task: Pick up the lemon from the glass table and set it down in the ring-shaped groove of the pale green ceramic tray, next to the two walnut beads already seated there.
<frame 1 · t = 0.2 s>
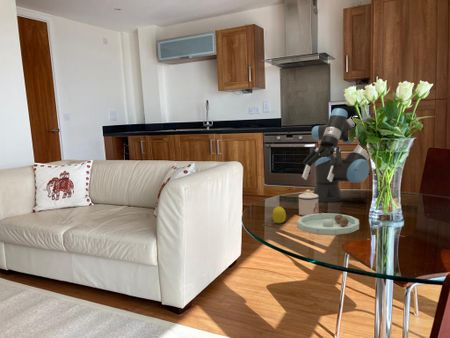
hand: (316, 179, 163), 16 cm above the table, tool tilted 35°, fingers open, 13 cm apart
tray: (327, 228, 143), on the table
teacup with lid: (309, 215, 165), on the table
lemon: (279, 225, 151), on the table
walnut bead A: (343, 226, 141), point 1 cm above the table, touching tray
walnut bead B: (339, 223, 146), point 1 cm above the table, touching tray
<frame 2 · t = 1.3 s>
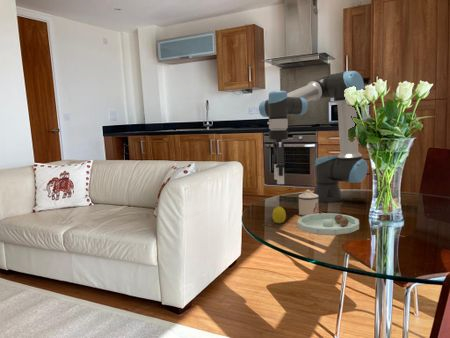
hand: (279, 181, 149), 18 cm above the table, tool pointing down, fingers open, 13 cm apart
nothing on the table moved.
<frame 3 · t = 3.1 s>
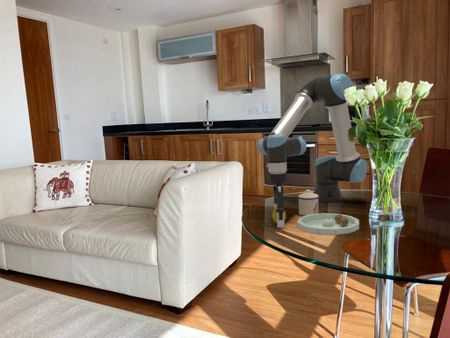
hand: (279, 223, 151), 1 cm above the table, tool pointing down, fingers open, 13 cm apart
nothing on the table moved.
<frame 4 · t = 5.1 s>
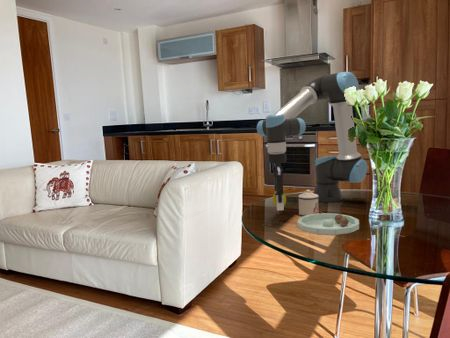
hand: (279, 208, 151), 7 cm above the table, tool pointing down, fingers closed on lemon, 5 cm apart
lemon: (279, 209, 151), point 6 cm above the table, touching gripper
everything else where it was.
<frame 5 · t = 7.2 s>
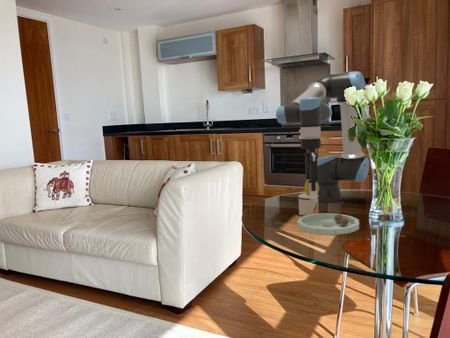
hand: (311, 197, 142), 13 cm above the table, tool pointing down, fingers closed on lemon, 5 cm apart
lemon: (312, 198, 142), point 12 cm above the table, touching gripper
everything else where it was.
when the fingers open (2 cm above the table, at t = 9.6 s): lemon stays where it is, resting on tray.
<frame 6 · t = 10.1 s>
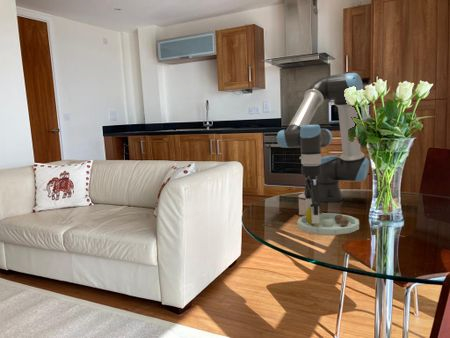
hand: (312, 218, 143), 4 cm above the table, tool pointing down, fingers open, 13 cm apart
lemon: (312, 226, 143), point 1 cm above the table, touching tray
everything else where it was.
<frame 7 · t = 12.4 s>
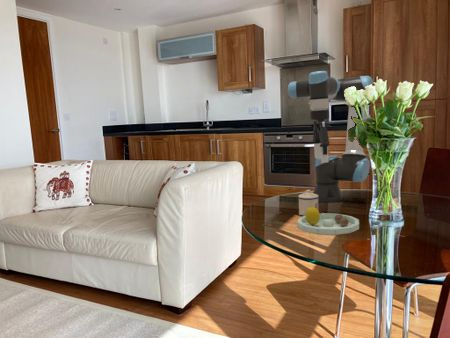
hand: (321, 160, 154), 25 cm above the table, tool pointing down, fingers open, 13 cm apart
nothing on the table moved.
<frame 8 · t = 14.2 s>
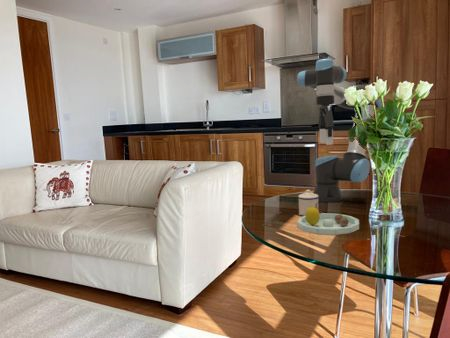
hand: (326, 143, 162), 32 cm above the table, tool pointing down, fingers open, 13 cm apart
nothing on the table moved.
at the end: lemon 5.9 cm from the tray (horizontally); lemon point 0.8 cm above the table; the gripper is holding nothing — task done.
